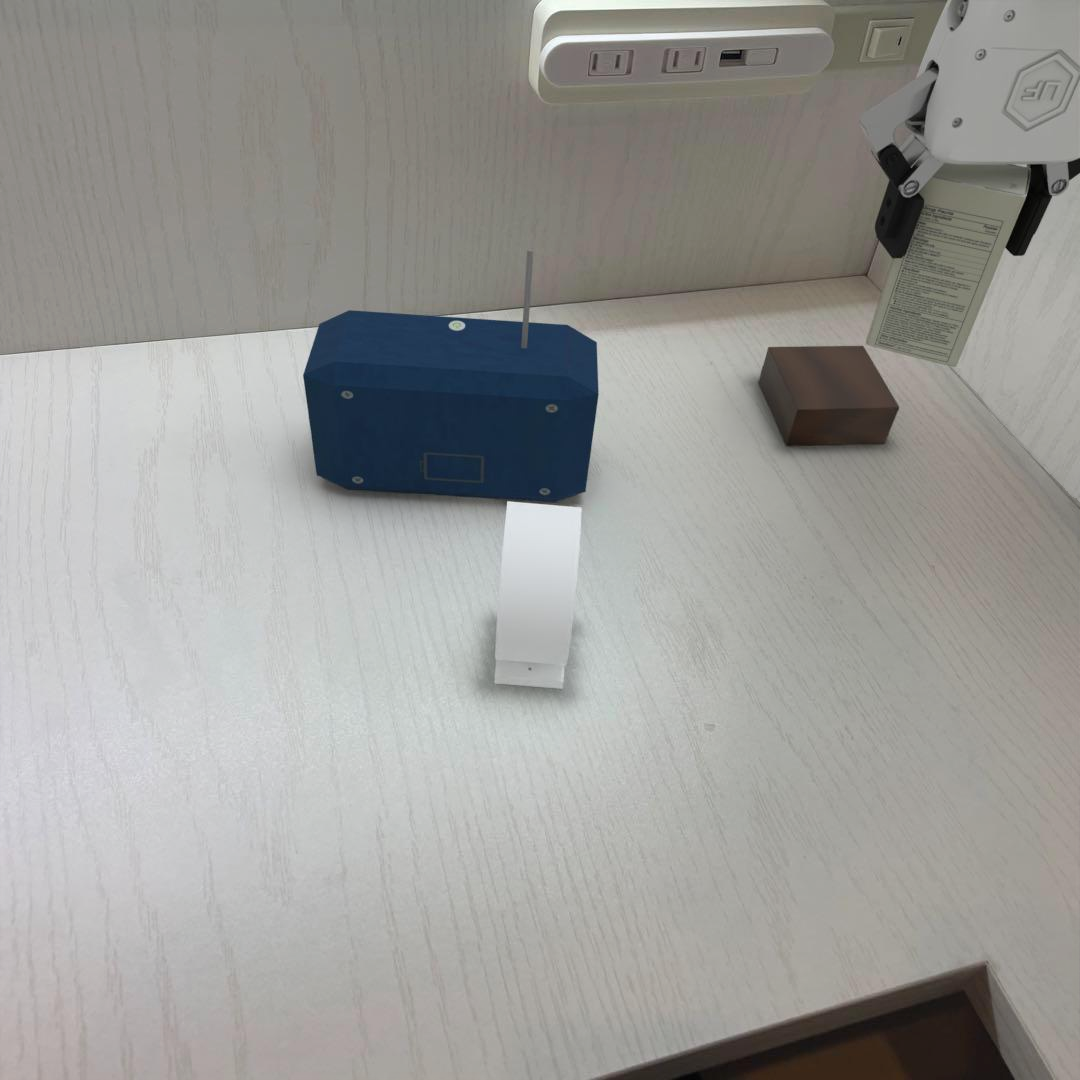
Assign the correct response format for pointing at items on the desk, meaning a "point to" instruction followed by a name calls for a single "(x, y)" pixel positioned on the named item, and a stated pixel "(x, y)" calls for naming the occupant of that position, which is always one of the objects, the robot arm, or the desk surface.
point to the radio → (453, 405)
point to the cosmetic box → (949, 261)
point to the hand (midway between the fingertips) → (949, 244)
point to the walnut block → (827, 395)
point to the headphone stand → (537, 594)
